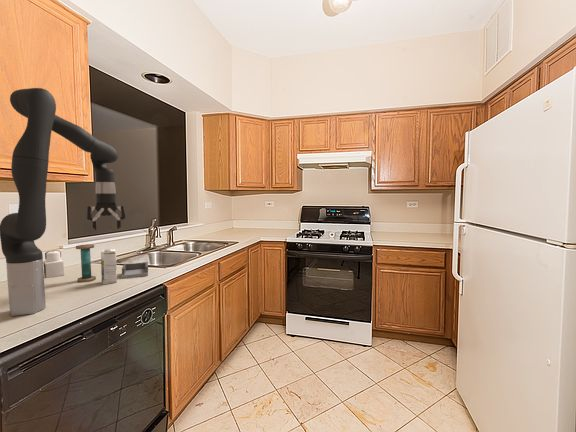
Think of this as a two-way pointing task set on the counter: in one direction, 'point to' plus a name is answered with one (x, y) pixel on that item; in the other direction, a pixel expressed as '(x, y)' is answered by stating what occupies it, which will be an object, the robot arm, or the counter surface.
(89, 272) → the bobbin post
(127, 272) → the gray square tray
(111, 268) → the syrup box
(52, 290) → the counter surface
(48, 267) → the medicine bottle
